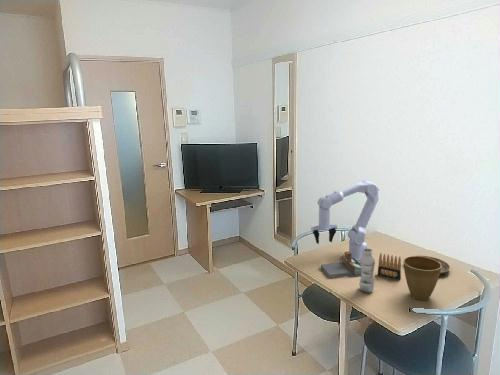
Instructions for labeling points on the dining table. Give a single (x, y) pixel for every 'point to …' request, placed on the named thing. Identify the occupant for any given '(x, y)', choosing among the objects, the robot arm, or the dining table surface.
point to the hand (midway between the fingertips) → (324, 242)
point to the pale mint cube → (357, 266)
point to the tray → (357, 272)
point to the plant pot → (421, 276)
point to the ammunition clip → (389, 267)
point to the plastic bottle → (367, 271)
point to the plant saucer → (444, 267)
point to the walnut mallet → (348, 260)
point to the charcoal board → (336, 270)
